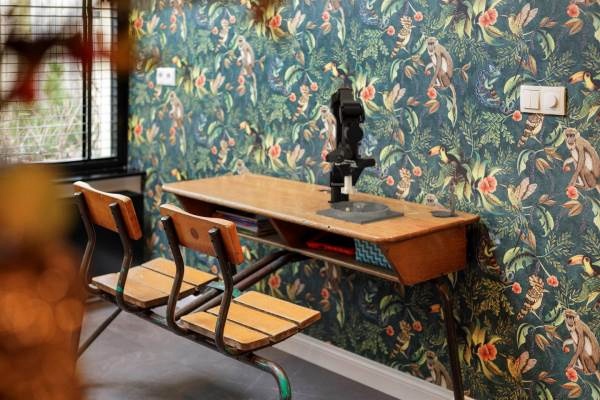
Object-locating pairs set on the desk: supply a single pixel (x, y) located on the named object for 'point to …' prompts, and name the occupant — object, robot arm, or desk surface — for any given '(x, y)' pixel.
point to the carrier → (360, 220)
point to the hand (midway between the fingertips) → (349, 185)
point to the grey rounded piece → (451, 207)
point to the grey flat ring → (350, 214)
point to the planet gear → (349, 186)
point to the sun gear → (359, 207)
